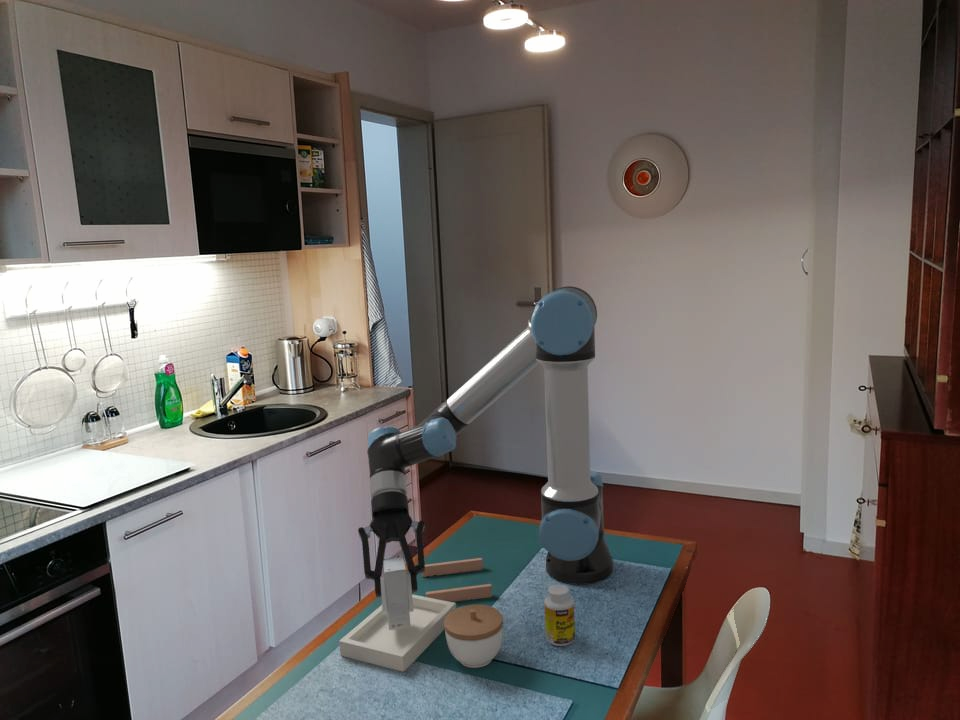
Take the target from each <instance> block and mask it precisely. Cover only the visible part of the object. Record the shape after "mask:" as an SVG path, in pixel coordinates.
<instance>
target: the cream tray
mask: <svg viewBox="0 0 960 720" xmlns="http://www.w3.org/2000/svg"><path fill="white" fill-rule="evenodd" d="M412 598H413V612H410V611H409V613H410V627H409V628H402V629H396V630H389V625H388V617H387V615H383V611H382V604H381V605H379V607H377V608H376V609H375V610H374V611H373V612H371V613H370V614H369V615H368V616H367V617H366V618H364V619H363V620H362V621H361V622H360V623H358V624H357V625H356V626H355V627H354V628H353V629H351V630H350V631H349V632H348V633H347V634H345V635H344V636H343V637H342V638H341V639H340V640H338V646H339V653H340V655H339V656H341V657H345V658H347V659H352V660H355V661H360V662H363V663H368V664H370V665H371V664H372V665H374V666H375V665H376V666H379V667H382V668H387V669H391V670H395V671H399V672H403V673H404V672H405V671H406V670H407V669H409V667H410V666H411V665H412V664H413V663H414V662H415V661H416V660H417V659H418V658H419V657H420V655H421V654H423V653H424V651H425V650H426V649H428V647H429V646H430V645H431V644H432V643H434V641H435V640H436V639H437V638H438V637H439V636H440V635H441V633H442V632H443V631H445V628H444V619H445V617H446V616H447V615H448V614H449V613H450V612H451V611H453V610H454V609H457V603H456V602H448V601H443V600H438V599H433V598H428V597H426V596H422V595H417V594H414V593H412ZM386 606H387V605H386Z"/></svg>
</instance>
